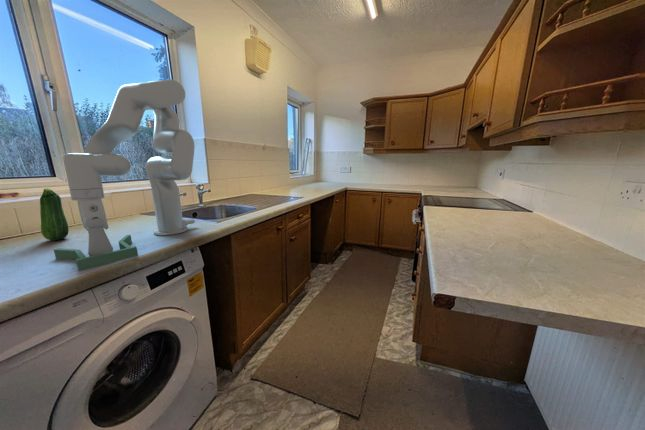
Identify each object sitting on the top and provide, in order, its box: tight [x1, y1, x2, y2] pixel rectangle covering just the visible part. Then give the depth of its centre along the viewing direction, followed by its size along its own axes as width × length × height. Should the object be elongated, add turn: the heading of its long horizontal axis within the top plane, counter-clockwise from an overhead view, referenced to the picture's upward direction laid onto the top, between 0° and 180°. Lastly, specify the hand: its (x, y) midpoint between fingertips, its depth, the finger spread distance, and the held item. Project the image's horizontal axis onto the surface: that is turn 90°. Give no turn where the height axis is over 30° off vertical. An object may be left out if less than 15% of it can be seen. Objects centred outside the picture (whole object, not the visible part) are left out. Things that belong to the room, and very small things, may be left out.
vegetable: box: [39, 188, 70, 241], centre depth 93 cm, size 7×7×20 cm
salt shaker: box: [85, 218, 114, 257], centre depth 76 cm, size 6×6×13 cm
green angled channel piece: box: [53, 234, 139, 271], centre depth 80 cm, size 20×18×3 cm
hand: (98, 250), depth 80 cm, fingers closed
